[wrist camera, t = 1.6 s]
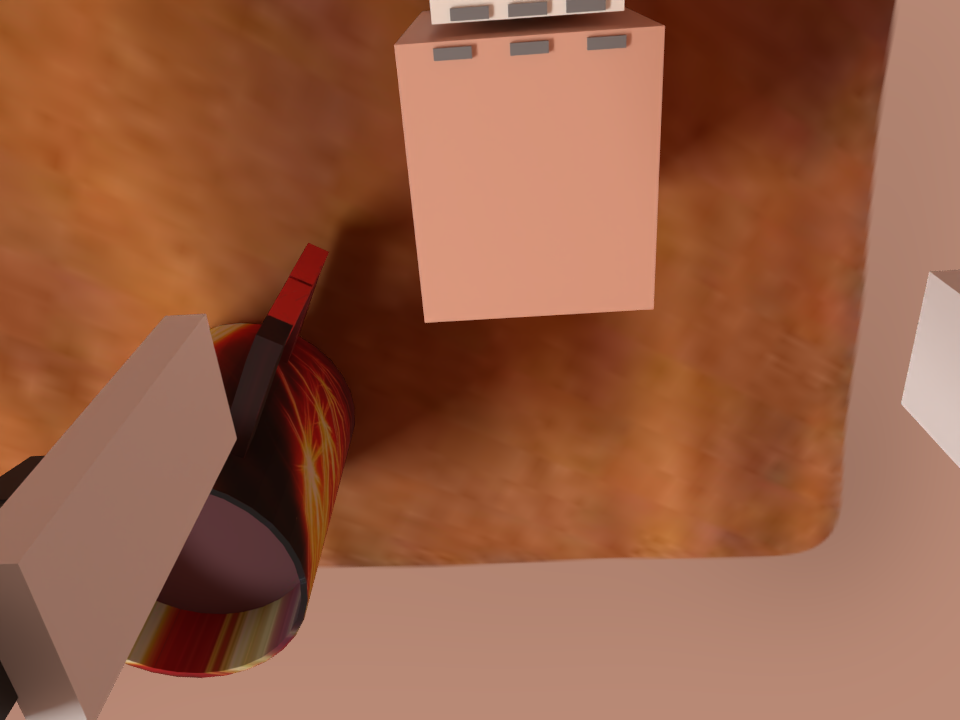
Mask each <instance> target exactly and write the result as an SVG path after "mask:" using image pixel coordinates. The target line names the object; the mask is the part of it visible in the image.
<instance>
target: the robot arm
mask: <svg viewBox="0 0 960 720" xmlns="http://www.w3.org/2000/svg"><path fill="white" fill-rule="evenodd" d="M901 404H902V405H903V406H904V407H905V408H906V410H907V411H908V412H909V413H910V414H911V415H912V416H913V417H914V418H915V419H916V421H918V423H919V424H920V425H921V426H922V427H923V428H924V429H925V430H926V432H927V433H928V434H929V435H930V436H931V437H932V438H933V439H934V440H935V441H936V442H937V444H938V445H939V446H940V447H941V448H942V449H943V450H944V451H945V452H946V453H947V455H948V456H949V457H950V458H951V459H952V460H953V461H954V462H955V463H956V464H957V466H958V467H959V468H960V270H947V271H930V272H929V276H928V280H927V285H926V290H925V294H924V299H923V304H922V309H921V313H920V318H919V322H918V327H917V332H916V337H915V341H914V346H913V351H912V355H911V360H910V365H909V369H908V374H907V379H906V383H905V388H904V393H903V397H902V402H901ZM236 440H237V437H236V433H235V429H234V425H233V421H232V417H231V413H230V409H229V405H228V401H227V397H226V393H225V389H224V385H223V381H222V377H221V373H220V369H219V365H218V361H217V357H216V353H215V349H214V345H213V341H212V337H211V333H210V328H209V324H208V320H207V316H206V314H194V315H177V316H165V317H164V318H163V319H162V320H161V321H160V323H159V324H158V325H157V326H156V327H155V328H154V330H153V331H152V332H151V333H150V334H149V335H148V337H147V338H146V339H145V340H144V341H143V342H142V344H141V345H140V346H139V347H138V348H137V349H136V351H135V352H134V353H133V354H132V355H131V356H130V358H129V359H128V360H127V361H126V362H125V363H124V365H123V366H122V367H121V368H120V369H119V370H118V372H117V373H116V374H115V375H114V376H113V377H112V379H111V380H110V381H109V382H108V383H107V384H106V386H105V387H104V388H103V389H102V390H101V391H100V393H99V394H98V395H97V396H96V397H95V398H94V400H93V401H92V402H91V403H90V404H89V405H88V407H87V408H86V409H85V410H84V411H83V412H82V414H81V415H80V416H79V417H78V418H77V419H76V421H75V422H74V423H73V424H72V425H71V426H70V428H69V429H68V430H67V431H66V432H65V433H64V435H63V436H62V437H61V438H60V439H59V440H58V442H57V443H56V444H55V445H54V446H53V447H52V449H51V450H50V451H49V452H48V453H47V454H46V456H31V457H29V458H28V459H26V460H25V461H23V462H22V463H20V464H19V465H17V466H16V467H14V468H13V469H11V470H10V471H8V472H7V473H5V474H4V475H2V476H1V477H0V720H5V719H6V717H7V715H8V714H9V712H10V710H11V709H12V707H13V706H14V704H15V702H16V701H17V702H18V705H19V707H20V709H21V710H22V713H23V714H24V717H25V719H26V720H97V718H98V716H99V714H100V712H101V710H102V708H103V706H104V704H105V702H106V700H107V698H108V696H109V694H110V692H111V690H112V688H113V686H114V684H115V682H116V680H117V678H118V676H119V674H120V672H121V670H122V668H123V666H124V664H125V662H126V660H127V658H128V656H129V654H130V652H131V650H132V648H133V646H134V644H135V642H136V640H137V638H138V636H139V634H140V632H141V630H142V628H143V626H144V624H145V622H146V620H147V618H148V616H149V614H150V612H151V610H152V608H153V606H154V604H155V602H156V600H157V598H158V596H159V594H160V592H161V590H162V588H163V586H164V584H165V582H166V580H167V578H168V576H169V574H170V572H171V570H172V568H173V566H174V564H175V562H176V560H177V558H178V556H179V554H180V552H181V550H182V548H183V546H184V544H185V542H186V540H187V538H188V536H189V534H190V532H191V530H192V528H193V526H194V524H195V522H196V520H197V518H198V516H199V514H200V512H201V510H202V508H203V506H204V504H205V502H206V500H207V498H208V496H209V494H210V492H211V490H212V488H213V486H214V484H215V482H216V480H217V478H218V476H219V474H220V472H221V470H222V468H223V466H224V464H225V462H226V460H227V458H228V456H229V454H230V452H231V450H232V448H233V446H234V444H235V442H236Z"/></svg>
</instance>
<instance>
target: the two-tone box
mask: <svg viewBox="0 0 960 720" xmlns="http://www.w3.org/2000/svg"><path fill="white" fill-rule="evenodd" d="M624 2H625V0H430V10H431V21H432V24H446V23H460V22H474V21H487V20H501V19H515V18H529V17H543V16H557V15H571V14H585V13H599V12H613V11H624Z"/></svg>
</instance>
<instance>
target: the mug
mask: <svg viewBox="0 0 960 720" xmlns="http://www.w3.org/2000/svg"><path fill="white" fill-rule="evenodd" d="M328 253H329V252H328V251H326V250H323V249H321V248H319V247H317V246H314V245H312V244H310V243H308V244H307V246H306V248H305V249H304V251H303V253H302V255H301V256H300V258H299V260H298V262H297V263H296V265H295V267H294V269H293V270H292V272H291V274H290V276H289V278H288V280H287V281H286V283H285V285H284V287H283V288H282V290H281V292H280V294H279V295H278V297H277V299H276V301H275V302H274V304H273V306H272V308H271V309H270V311H269V313H268V315H267V316H266V318H265V320H264V322H263V323H262V324H250V323H236V324H228V325H220V326H217V327H214V328H211V329H210V333H211V337H212V341H213V345H214V349H215V353H216V357H217V361H218V365H219V369H220V373H221V377H222V381H223V385H224V389H225V393H226V397H227V401H228V405H229V409H230V413H231V417H232V421H233V425H234V429H235V433H236V437H237V440H236V442H235V444H234V446H233V448H232V450H231V452H230V454H229V456H228V458H227V460H226V462H225V464H224V466H223V468H222V470H221V472H220V474H219V476H218V478H217V480H216V482H215V484H214V486H213V488H212V490H211V492H210V494H209V496H208V498H207V500H206V502H205V504H204V506H203V508H202V510H201V512H200V514H199V516H198V518H197V520H196V522H195V524H194V526H193V528H192V530H191V532H190V534H189V536H188V538H187V540H186V542H185V544H184V546H183V548H182V550H181V552H180V554H179V556H178V558H177V560H176V562H175V564H174V566H173V568H172V570H171V572H170V574H169V576H168V578H167V580H166V582H165V584H164V586H163V588H162V590H161V592H160V594H159V596H158V598H157V600H156V602H155V604H154V606H153V608H152V610H151V612H150V614H149V616H148V618H147V620H146V622H145V624H144V626H143V628H142V630H141V632H140V634H139V636H138V638H137V640H136V642H135V644H134V646H133V648H132V650H131V652H130V654H129V656H128V658H127V660H126V662H125V663H126V664H128V665H131V666H134V667H137V668H141V669H144V670H147V671H150V672H153V673H159V674H165V675H170V676H176V677H197V678H203V677H214V676H224V675H229V674H233V673H236V672H241V671H244V670H248V669H250V668H252V667H255V666H257V665H259V664H261V663H264V662H266V661H267V660H269V659H270V658H272V657H273V656H274V655H276V654H277V653H279V652H280V651H282V650H283V649H284V648H285V647H286V646H287V644H288V643H289V642H290V641H291V640H292V639H293V638H294V637H295V636H296V634H297V632H298V630H299V628H300V626H301V624H302V622H303V620H304V617H305V613H306V610H307V606H308V602H309V599H310V595H311V591H312V587H313V583H314V579H315V575H316V572H317V568H318V564H319V560H320V557H321V553H322V549H323V545H324V541H325V537H326V534H327V530H328V526H329V522H330V518H331V515H332V511H333V507H334V503H335V499H336V495H337V492H338V488H339V484H340V480H341V476H342V473H343V469H344V465H345V461H346V457H347V453H348V450H349V446H350V442H351V438H352V434H353V429H354V425H355V415H354V404H353V400H352V396H351V392H350V390H349V388H348V386H347V384H346V382H345V379H344V377H343V375H342V374H341V373H340V371H339V370H338V369H337V368H336V366H335V365H334V364H333V362H332V361H331V360H330V359H329V358H328V357H327V356H326V355H324V354H323V353H322V352H321V351H320V350H319V349H318V348H317V347H315V346H314V345H312V344H310V343H309V342H307V341H306V340H304V339H303V338H301V337H299V333H300V330H301V327H302V324H303V322H304V319H305V316H306V313H307V310H308V307H309V304H310V301H311V298H312V295H313V293H314V290H315V287H316V284H317V281H318V278H319V275H320V272H321V270H322V268H323V265H324V263H325V260H326V258H327V256H328Z"/></svg>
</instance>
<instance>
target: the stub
mask: <svg viewBox="0 0 960 720" xmlns="http://www.w3.org/2000/svg"><path fill="white" fill-rule="evenodd" d="M664 37H665V25H662V24H660V23H658V22H656V21H654V20H652V19H650V18H647V17H645V16H643V15H641V14H639V13H637V12H635V11H632V10H630V9H628V8H626V7H624V11H613V12H599V13H585V14H571V15H557V16H543V17H529V18H515V19H501V20H487V21H474V22H460V23H446V24H432V21H431V11H422V12H421V14H420V15H419V16H418V17H417V18H416V20H415V21H414V22H413V23H412V24H411V26H410V27H409V28H408V29H407V30H406V32H405V33H404V34H403V35H402V36H401V38H400V39H399V40H398V41H397V42H396V44H395V45H394V47H395V56H396V65H397V74H398V83H399V92H400V101H401V111H402V120H403V129H404V138H405V147H406V156H407V165H408V174H409V183H410V193H411V202H412V211H413V220H414V229H415V238H416V247H417V256H418V265H419V275H420V284H421V293H422V302H423V311H424V320H425V323H429V322H446V321H463V320H480V319H496V318H513V317H530V316H547V315H564V314H580V313H597V312H614V311H631V310H648V309H654V285H655V260H656V235H657V211H658V186H659V161H660V136H661V111H662V86H663V61H664Z"/></svg>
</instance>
